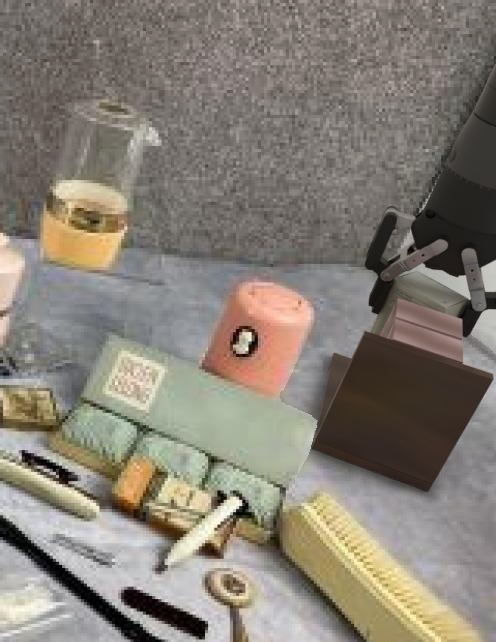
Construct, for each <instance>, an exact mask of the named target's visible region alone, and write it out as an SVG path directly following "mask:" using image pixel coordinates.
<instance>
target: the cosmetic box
mask: <svg viewBox="0 0 496 642" xmlns="http://www.w3.org/2000/svg"><path fill="white" fill-rule="evenodd" d="M398 298H399V299H402V300H405V301H408V302H411V303H414V304H417V305H420V306H424V307H427V308H430V309H433V310H436V311H439V312H442V313H445V314H448V315H451V316H454V317H457V318H460V316H461V314H462V312H463V310H464V308H465V306H466V304H467V302H468V300H470V299H469V297H466V296H464V295H463V294H461V293H459V292H457V291H456V290H453V289H452V288H450V287H448V286H446V285H445V284H442V283H441V282H439V281H437V280H435V279H433V278H432V277H429V276H428V275H426V274H424V273H423V272H420V271H419V270H414V271H410V272H408V273H405V274H404V273H403V274H401V275H399V276H397V277H396V278H394V279H393V285H392V287H391V289H390V291H389V294H388V296H387V298H386V300H385V302H384V304H383V306H382V308H381V310H380V313H379V314H378V315H377V316H376V318H375V321H374V322H373V324H372V327H371V329H370V331H369V332H370V333H373V334H376V335H379V336H380V334H381V332H382V330H383V328H384V326H385V324H386V322H387V320H388V318H389V316H390V313H391V311H392V309H393V307H394V305H395V303H396V301H397V299H398Z"/></svg>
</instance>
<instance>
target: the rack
mask: <svg viewBox="0 0 496 642" xmlns="http://www.w3.org/2000/svg"><path fill="white" fill-rule="evenodd" d="M463 339H464V337H463V330H462V319H460V318H457V317H454V316H451V315H448V314H445V313H442V312H439V311H436V310H433V309H430V308H427V307H424V306H420V305H417V304H414V303H411V302H408V301H405V300H402V299H399V298H398V299H397V301H396V303H395V305H394V307H393V309H392V311H391V313H390V316H389V318H388V320H387V322H386V324H385V326H384V328H383V330H382V332H381V334H380V336H379V335H376V334H373V333H370V331H367V330H364V331H363V333H362V335H361V337H360V339H359V342H358V344H357V346H356V348H355V350H354V353H353V355H352V357H348V356H345V355H343V354H339V353H337V352H333V353H332V356H331V358H330V361H329V366H328V370H327V375H326V380H325V384H324V388H323V393H322V398H321V402H320V406H319V411H318V416H317V421H316V425H317V428H316V427H315V429H316V430H315V429H314V434H313V438H312V444H311V449H312V450H314V451H317V452H320V453H323V454H325V455H328V456H331V457H333V458H336V459H339V460H342V461H344V462H347V463H350V464H352V465H355V466H357V467H360V468H363V469H365V470H368V471H371V472H374V473H376V474H379V475H382V476H383V477H386V478H390V479H392V480H396V481H398V482H401V483H403V484H406V485H408V486H412V487H415V488H417V489H419V490H423V491H425V492H430V490H431V488H432V487H433V484H434V483H435V482H436V480H437V478H438V477H439V475H440V473H441V471H442V470H443V468H444V466H445V464H446V463H447V461H448V459H449V457H450V455H451V454H452V452H453V450H454V449H455V447H456V445H457V444H458V442H459V440H460V439H461V437H462V435H463V433H464V431H465V430H466V428H467V426H468V424H469V423H470V421H471V419H472V418H473V416H474V414H475V413H476V411H477V409H478V407H479V406H480V404H481V402H482V400H483V399H484V397H485V395H486V393H487V392H488V390H489V388H490V386H491V385H492V383H493V381H494V373H492V372H489V371H486V370H482V369H479V368H477V367H474V366H471V365H467V364H465V363H464V343H463V342H464V341H463Z"/></svg>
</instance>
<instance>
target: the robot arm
mask: <svg viewBox="0 0 496 642" xmlns="http://www.w3.org/2000/svg"><path fill="white" fill-rule="evenodd" d="M447 156H448V157H447V158H446V161H445V162H444V165H443V167H442V169H441V171H440V173H439V175H438V177H437V180H436V182H435V184H434V187H433V188H432V191H431V193H430V195H429V197H428V200H427V201H426V203H425V205H424V207H423V208H422V210H421V211H420V212H419V213H417V214H416V215H412V214H410V213H405V212H402V211H399V209H398V208H397V207H396V206H395V205H389V206H387V207H386V208H385V209H384V211H383V212H384V213H383V214H382V216H381V219H380V221H379V223H378V226H377V228H376V230H375V232H374V236H373V237H372V240H371V243H370V244H369V247H368V250H367V252H366V255H365V261H364V267H365V269H366V270H368V271H372V272H374V273H375V274H376V275H377V277H376V280H375V282H374V284H373V286H372V288H371V290H370V293H369V296H368V307H371V312H370V313H372V314H375V315H377V316H378V314H379V313H380V310H381V308H382V306H383V304H384V302H385V300H386V298H387V296H388V294H389V291H390V289H391V287H392V285H393V279H394V278H396V277H398V276H401V275H403V274H404V273H406V272H411V271H412V270H413V269H415V268H417V267H418V266H420V265H424V268H427V269H430V270H432V271H442V272H444V273H446V274H447V275H449V276H452V277H455V278H459V277H464V276H465V279H466V283H467V289H468V291H469V297H470V299H469V300H468V302H467V304H466V306H465V308H464V310H463V312H462V314H461V316H460V319H462V330H463V338H468V337H469V336H470V335H471V333H472V332H473V329H474V328H475V326H476V324H477V322H478V320H480V317H481V315H482V314H483V312H485V311H488V310H496V291H486V289H485V288H486V287H485V284H484V277H483V271H482V268H483V267H485V266H487V265H489V264H491V263H493V262H495V261H496V63H495V64H494V65H493V68H492V70H491V71H490V73H489V76H488V78H487V80H486V83H485V85H484V87H483V89H482V91H481V93H480V96H479V98H478V100H477V102H476V104H475V106H474V108H473V111H472V112H471V114H470V116H469V117H468V118H467V121H466V122H465V124H464V126H463V127H462V128H461V130H460V132H459V133H458V135H457V137H456V139H455V141H454V144H453V146H452V148H451V150H450V152H449V154H448V155H447ZM405 229H410V232H411V236H412V239H413V241H412V242H411V243H409V244H408V245H406V246H404V247H402V249H401V250H399V252H397V253H396V254H395V255H393V256H391V257H390V258H388V259H387V258H385V257H384V256H383V255H384V253H385V250H386V248H387V246H388V243H389V241H390V239H391V237H392V236H399V235H400V234H401V233H402V231H404V230H405Z"/></svg>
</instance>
